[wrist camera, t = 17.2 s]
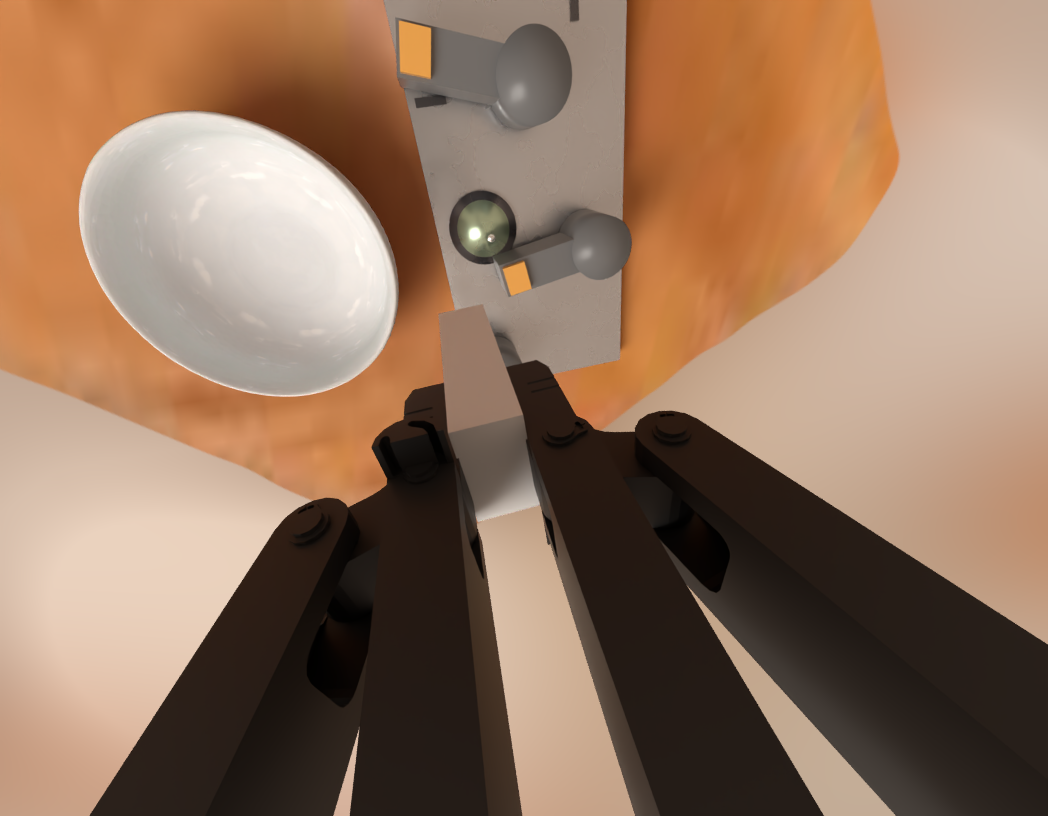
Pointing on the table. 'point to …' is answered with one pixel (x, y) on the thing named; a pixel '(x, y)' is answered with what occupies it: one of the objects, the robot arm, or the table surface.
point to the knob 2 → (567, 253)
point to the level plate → (528, 175)
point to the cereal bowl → (239, 253)
